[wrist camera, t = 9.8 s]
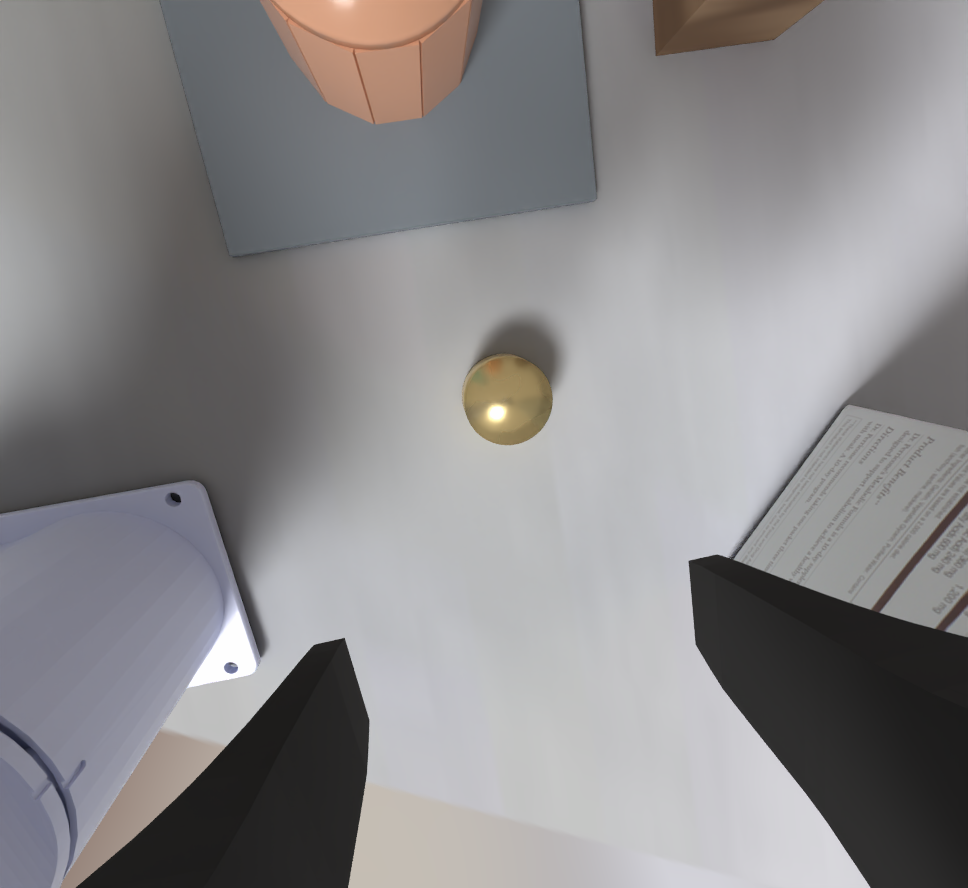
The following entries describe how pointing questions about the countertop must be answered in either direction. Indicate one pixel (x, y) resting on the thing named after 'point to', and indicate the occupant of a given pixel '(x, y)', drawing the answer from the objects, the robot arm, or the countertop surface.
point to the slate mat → (383, 130)
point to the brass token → (506, 399)
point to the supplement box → (876, 520)
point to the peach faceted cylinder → (379, 51)
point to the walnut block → (722, 22)
